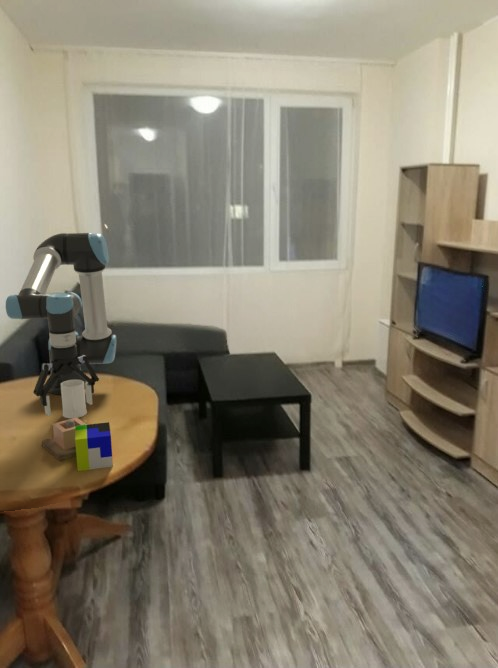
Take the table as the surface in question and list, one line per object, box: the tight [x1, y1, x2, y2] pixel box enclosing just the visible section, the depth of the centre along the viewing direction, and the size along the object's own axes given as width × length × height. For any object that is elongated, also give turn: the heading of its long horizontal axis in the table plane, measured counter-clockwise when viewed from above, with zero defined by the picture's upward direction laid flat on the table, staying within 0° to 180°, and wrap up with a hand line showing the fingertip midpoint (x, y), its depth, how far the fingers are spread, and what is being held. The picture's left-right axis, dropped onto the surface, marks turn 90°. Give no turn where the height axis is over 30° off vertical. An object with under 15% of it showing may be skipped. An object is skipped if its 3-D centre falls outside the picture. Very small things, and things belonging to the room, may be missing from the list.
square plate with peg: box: [41, 419, 77, 462], centre depth 174 cm, size 14×14×8 cm
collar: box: [52, 417, 88, 450], centre depth 174 cm, size 8×8×6 cm
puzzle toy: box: [75, 421, 114, 472], centre depth 165 cm, size 10×10×10 cm
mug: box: [60, 380, 88, 419], centre depth 198 cm, size 12×8×12 cm
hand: (69, 409), depth 173 cm, fingers open, 13 cm apart
